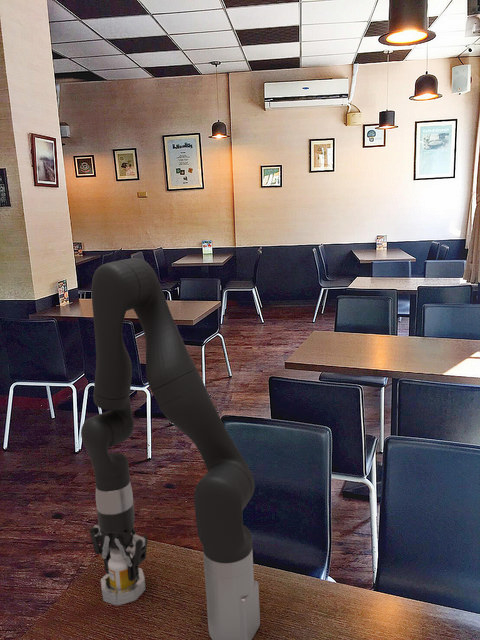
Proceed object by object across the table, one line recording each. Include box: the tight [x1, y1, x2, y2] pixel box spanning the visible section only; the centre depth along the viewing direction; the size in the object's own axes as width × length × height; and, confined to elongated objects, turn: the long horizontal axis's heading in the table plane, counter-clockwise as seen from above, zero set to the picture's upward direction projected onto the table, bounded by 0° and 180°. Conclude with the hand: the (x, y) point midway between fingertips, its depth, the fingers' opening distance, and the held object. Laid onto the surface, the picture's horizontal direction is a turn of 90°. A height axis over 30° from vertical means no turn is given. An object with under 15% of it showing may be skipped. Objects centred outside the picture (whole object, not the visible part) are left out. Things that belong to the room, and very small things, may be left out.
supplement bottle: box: [108, 546, 137, 591], centre depth 110 cm, size 5×5×10 cm
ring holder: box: [100, 567, 146, 607], centre depth 111 cm, size 9×9×2 cm
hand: (122, 575), depth 111 cm, fingers closed on supplement bottle, 5 cm apart
